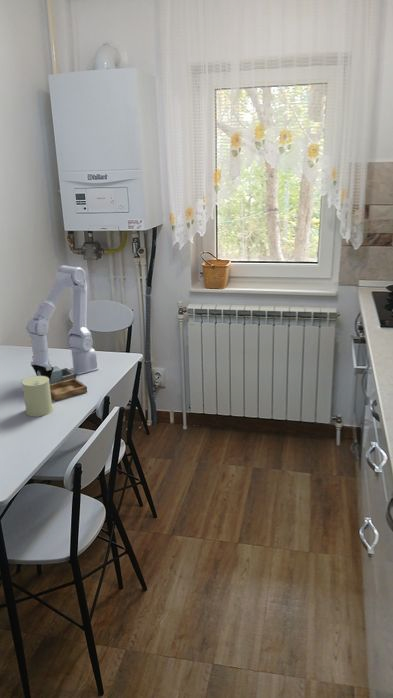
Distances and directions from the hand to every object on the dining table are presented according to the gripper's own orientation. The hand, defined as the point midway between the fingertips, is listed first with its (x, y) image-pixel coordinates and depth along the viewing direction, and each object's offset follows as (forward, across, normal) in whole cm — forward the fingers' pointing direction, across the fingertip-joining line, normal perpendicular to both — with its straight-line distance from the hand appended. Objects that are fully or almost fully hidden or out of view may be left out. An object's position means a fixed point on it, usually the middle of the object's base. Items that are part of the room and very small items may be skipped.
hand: (44, 382), depth 213 cm
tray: (+2, +11, +4) cm, 12 cm away
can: (+2, +20, -10) cm, 22 cm away
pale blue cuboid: (+2, 0, +3) cm, 3 cm away
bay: (+2, 0, +9) cm, 9 cm away
